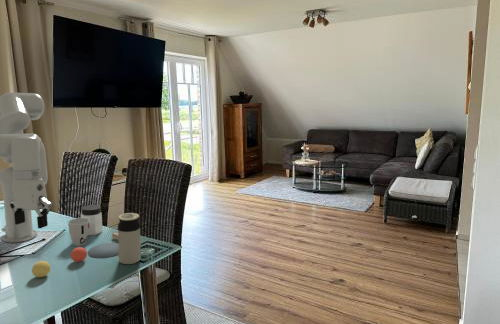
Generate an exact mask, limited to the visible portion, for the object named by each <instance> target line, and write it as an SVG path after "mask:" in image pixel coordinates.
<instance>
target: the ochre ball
mask: <svg viewBox="0 0 500 324" xmlns="http://www.w3.org/2000/svg"><path fill="white" fill-rule="evenodd" d="M50 272H51V265H50V264H49V262H48V261H46V260H39V261H37V262H36V263H34V264H33V266H32V268H31V273H32V275H33V276H34V277H35V278H43V277H46V276H48V275H49V273H50Z"/></svg>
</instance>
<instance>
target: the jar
mask: <svg viewBox="0 0 500 324" xmlns="http://www.w3.org/2000/svg"><path fill="white" fill-rule="evenodd" d="M80 211H81V213H80V218H87V219H89V234H88V236H96V235H98V234H100V233H102V232H103V217H102V216H103V215H102V212H101V211H102V210H101V206H100V205H98V204H88V205H84V206H82V207H81V208H80Z"/></svg>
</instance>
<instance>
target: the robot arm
mask: <svg viewBox="0 0 500 324" xmlns="http://www.w3.org/2000/svg"><path fill="white" fill-rule="evenodd" d="M45 109H46V108H45V102H44V98H42V96H41V95H39V94H38V93H35V92H34V93H33V92H28V93H27V92H6V93H3V94H2V95H1V96H0V158H1V159H2V161H3V162H4V163H6V164H11V165H12V166H8V167H4V168H2V169H1V170H0V187H1V192H2V197H3V207H4V218H5V219H4V220H5V226H4V227H3V228H1V232H5V234H4V235H3V236H2V241H3V242H4V243H10V244H11V243H13V244H14V243H22V242H26V241H29V240H32V239H34V238H36V237H37V236H38V231H36V230H34V229H33V216H32V211H35V213H36V214H37V215H38V216H37V217H36V222H37V229H43V228H46V227H47V226H48V215H49V212H50V211H51V208H52V205H53V204H52V202H51V201H49V200H48V194H47V188H46V185H47V183H48V178H49V177H48V175H49V174H48V165H47V157H46V156H47V154H46V152H47V151H46V149H45V145H44V143H43V141H42V139H41V138H40V136H39V135H38V134H36V133H30V132H29V133H24V130H25V129H27V128H28V127H29V125H30V124H31V121H37V120H39V119H41V118H42V116H43V115H44V113H45Z"/></svg>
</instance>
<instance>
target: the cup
mask: <svg viewBox="0 0 500 324" xmlns="http://www.w3.org/2000/svg"><path fill="white" fill-rule="evenodd" d="M67 226H68V233H69V235H70V236H69V237H70V240H71V242H72V244H73V246H78V247H81V246H84V245H86V244H87V241H88V239H89V235H88V234H89V219H87V218H81V217H76V218H72V219H70V220H68V221H67Z"/></svg>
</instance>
